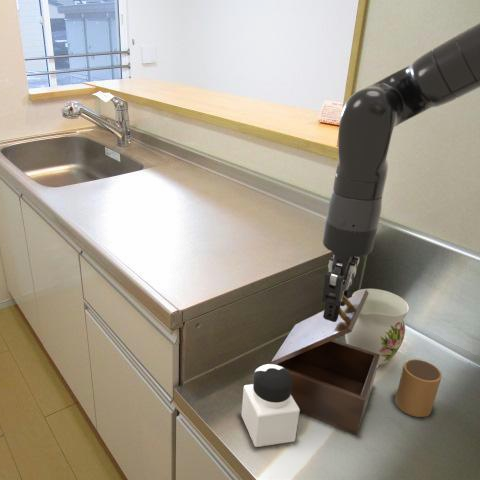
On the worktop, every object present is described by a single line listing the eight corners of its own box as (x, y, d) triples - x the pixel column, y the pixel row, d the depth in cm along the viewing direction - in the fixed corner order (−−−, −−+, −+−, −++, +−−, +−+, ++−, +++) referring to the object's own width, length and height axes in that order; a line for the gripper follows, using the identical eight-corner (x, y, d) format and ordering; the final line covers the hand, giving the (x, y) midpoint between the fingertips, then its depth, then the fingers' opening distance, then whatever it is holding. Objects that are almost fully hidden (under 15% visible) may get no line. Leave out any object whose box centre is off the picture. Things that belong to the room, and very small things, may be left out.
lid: (369, 293, 80) (350, 269, 80) (351, 331, 70) (330, 304, 70) (297, 327, 90) (281, 306, 91) (273, 365, 80) (255, 342, 81)
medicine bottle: (296, 442, 75) (304, 385, 70) (254, 448, 74) (260, 391, 69) (278, 410, 81) (285, 356, 76) (240, 415, 80) (245, 361, 75)
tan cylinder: (426, 422, 78) (437, 386, 75) (390, 406, 82) (399, 371, 78) (434, 403, 82) (445, 368, 79) (400, 388, 85) (409, 354, 82)
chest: (372, 387, 86) (380, 354, 83) (356, 435, 76) (364, 400, 72) (292, 358, 94) (296, 327, 91) (268, 399, 84) (271, 365, 80)
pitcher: (421, 352, 95) (436, 296, 89) (367, 385, 86) (380, 325, 81) (374, 327, 104) (386, 274, 98) (321, 354, 95) (330, 298, 89)
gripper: (368, 242, 63) (347, 340, 70) (385, 210, 74) (366, 299, 81) (314, 230, 67) (299, 325, 74) (338, 202, 78) (323, 287, 85)
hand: (334, 311), depth 77 cm, fingers closed on lid, 5 cm apart
